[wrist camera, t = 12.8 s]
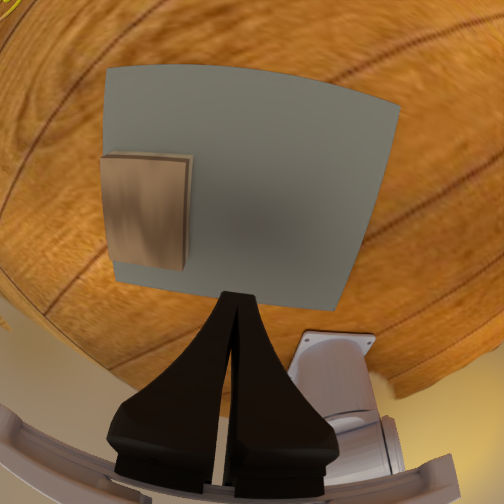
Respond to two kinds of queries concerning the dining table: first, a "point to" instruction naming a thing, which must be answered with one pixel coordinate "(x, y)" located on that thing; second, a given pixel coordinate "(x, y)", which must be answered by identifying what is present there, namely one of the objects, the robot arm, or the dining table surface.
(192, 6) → the dining table surface
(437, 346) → the dining table surface
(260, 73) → the mat
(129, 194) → the tile
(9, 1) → the decorative art
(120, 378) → the dining table surface
